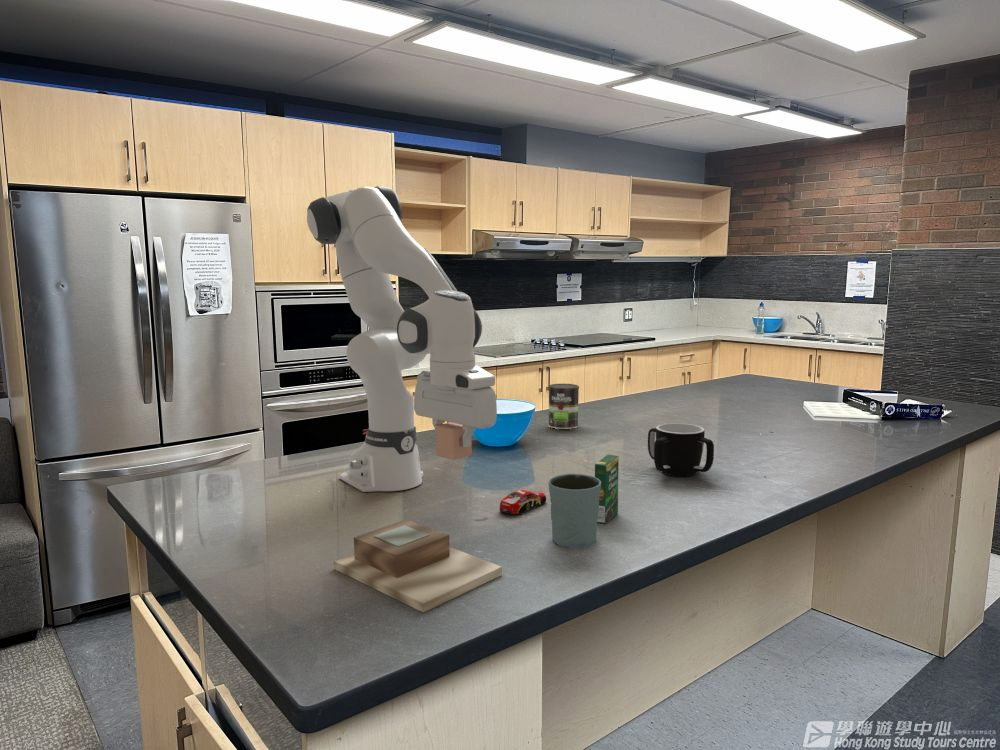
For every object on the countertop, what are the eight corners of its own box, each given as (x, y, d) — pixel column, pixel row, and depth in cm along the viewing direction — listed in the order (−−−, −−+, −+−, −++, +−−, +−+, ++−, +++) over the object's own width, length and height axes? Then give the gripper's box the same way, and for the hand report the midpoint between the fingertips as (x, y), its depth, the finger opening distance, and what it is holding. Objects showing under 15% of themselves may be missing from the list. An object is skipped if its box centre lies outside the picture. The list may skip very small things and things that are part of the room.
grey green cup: (595, 530, 140) (596, 473, 138) (604, 549, 130) (605, 488, 128) (545, 531, 140) (546, 473, 138) (551, 551, 130) (551, 489, 128)
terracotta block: (436, 455, 136) (435, 425, 135) (454, 450, 140) (453, 421, 139) (453, 459, 133) (453, 429, 132) (471, 454, 137) (471, 425, 136)
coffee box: (606, 526, 142) (607, 464, 140) (592, 523, 143) (593, 462, 142) (618, 514, 149) (620, 455, 147) (606, 512, 150) (607, 453, 148)
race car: (532, 498, 161) (532, 481, 161) (550, 503, 158) (550, 486, 157) (495, 513, 151) (494, 495, 151) (514, 518, 148) (514, 500, 147)
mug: (713, 483, 170) (715, 436, 168) (647, 480, 173) (648, 433, 171) (707, 465, 186) (709, 422, 184) (647, 462, 189) (648, 420, 187)
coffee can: (575, 430, 228) (576, 388, 226) (545, 429, 231) (545, 387, 229) (581, 424, 238) (581, 384, 236) (552, 422, 241) (552, 382, 239)
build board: (334, 568, 122) (332, 538, 122) (412, 539, 136) (411, 512, 135) (423, 612, 106) (422, 577, 106) (502, 574, 119) (501, 543, 119)
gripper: (405, 371, 139) (407, 438, 141) (478, 381, 125) (479, 455, 127) (429, 367, 143) (430, 432, 145) (501, 377, 130) (502, 449, 132)
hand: (453, 443), depth 136 cm, fingers closed on terracotta block, 5 cm apart
